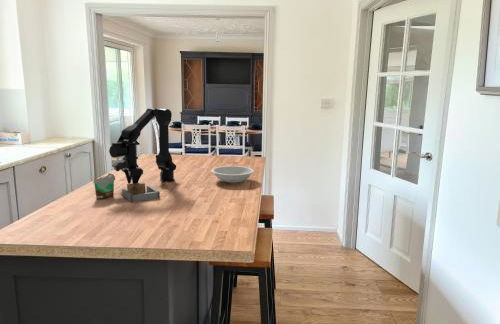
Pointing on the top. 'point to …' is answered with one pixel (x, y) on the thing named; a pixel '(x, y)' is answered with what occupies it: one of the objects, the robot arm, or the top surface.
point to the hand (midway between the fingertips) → (131, 185)
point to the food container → (104, 187)
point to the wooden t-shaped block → (136, 188)
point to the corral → (142, 195)
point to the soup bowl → (232, 173)
